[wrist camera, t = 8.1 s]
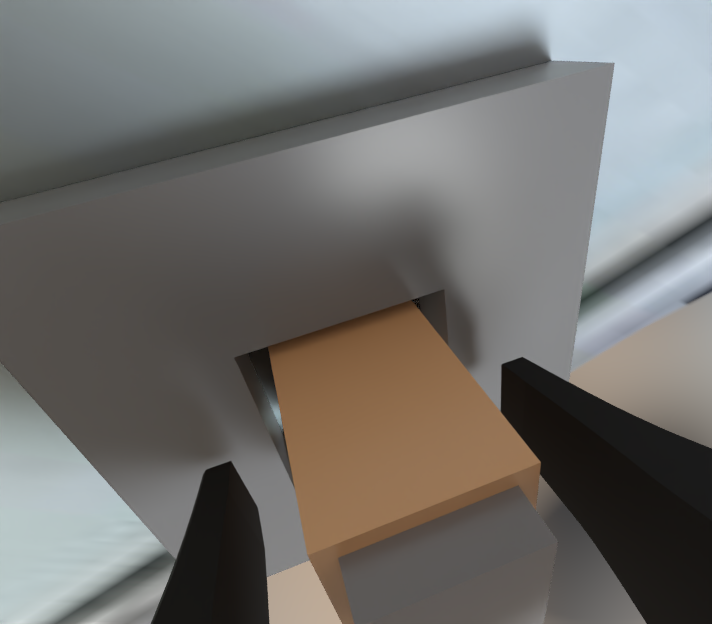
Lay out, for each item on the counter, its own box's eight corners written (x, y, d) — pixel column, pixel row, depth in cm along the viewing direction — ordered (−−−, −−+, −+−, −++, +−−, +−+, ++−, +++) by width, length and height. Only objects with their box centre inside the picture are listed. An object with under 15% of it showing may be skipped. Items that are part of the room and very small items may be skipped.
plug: (392, 275, 13) (585, 517, 6) (407, 372, 15) (559, 625, 8) (262, 316, 12) (321, 628, 6) (298, 411, 14) (370, 711, 8)
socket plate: (552, 60, 11) (614, 63, 9) (527, 424, 19) (557, 461, 17) (-42, 213, 9) (-99, 250, 7) (211, 545, 17) (211, 599, 15)
